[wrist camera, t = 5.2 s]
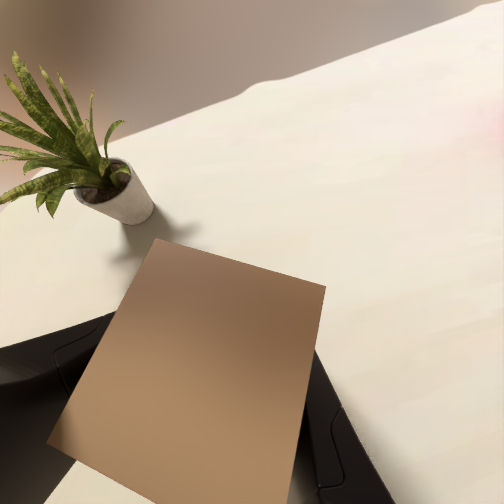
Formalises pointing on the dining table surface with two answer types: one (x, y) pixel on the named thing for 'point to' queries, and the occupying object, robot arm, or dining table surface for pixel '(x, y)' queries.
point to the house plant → (71, 157)
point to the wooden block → (198, 381)
